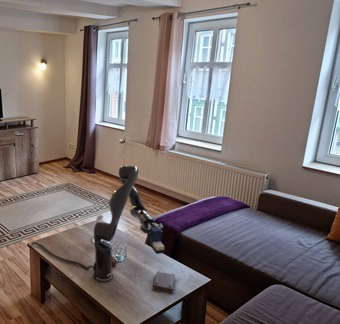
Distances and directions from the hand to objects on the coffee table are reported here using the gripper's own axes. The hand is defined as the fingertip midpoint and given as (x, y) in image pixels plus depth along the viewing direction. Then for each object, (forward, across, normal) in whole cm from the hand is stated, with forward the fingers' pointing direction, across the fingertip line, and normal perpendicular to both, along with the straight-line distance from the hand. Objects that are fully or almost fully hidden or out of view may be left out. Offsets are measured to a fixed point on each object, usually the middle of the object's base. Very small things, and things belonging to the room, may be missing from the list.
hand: (157, 234), depth 190 cm
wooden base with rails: (+15, -1, +22) cm, 27 cm away
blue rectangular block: (0, 0, +9) cm, 9 cm away
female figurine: (-36, -24, +23) cm, 49 cm away
